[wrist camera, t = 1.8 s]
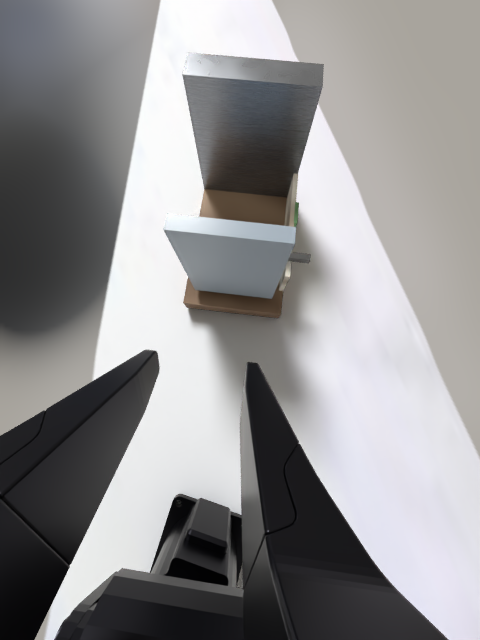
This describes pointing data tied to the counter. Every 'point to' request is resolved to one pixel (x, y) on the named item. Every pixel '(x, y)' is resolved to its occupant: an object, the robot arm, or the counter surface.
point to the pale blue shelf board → (232, 253)
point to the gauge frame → (256, 212)
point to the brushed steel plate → (250, 120)
